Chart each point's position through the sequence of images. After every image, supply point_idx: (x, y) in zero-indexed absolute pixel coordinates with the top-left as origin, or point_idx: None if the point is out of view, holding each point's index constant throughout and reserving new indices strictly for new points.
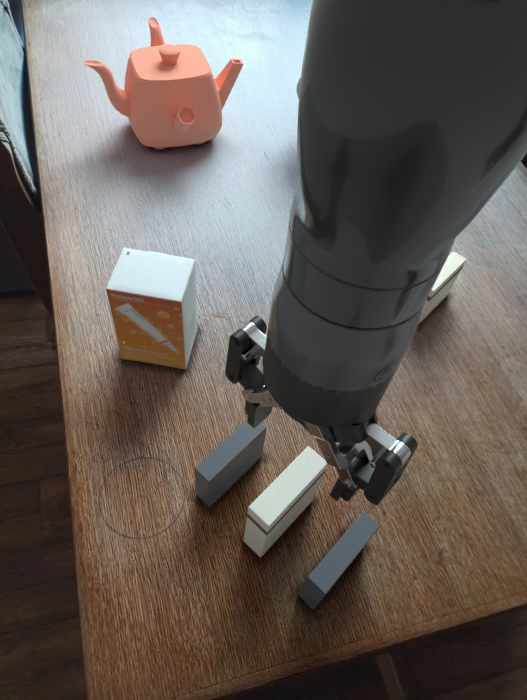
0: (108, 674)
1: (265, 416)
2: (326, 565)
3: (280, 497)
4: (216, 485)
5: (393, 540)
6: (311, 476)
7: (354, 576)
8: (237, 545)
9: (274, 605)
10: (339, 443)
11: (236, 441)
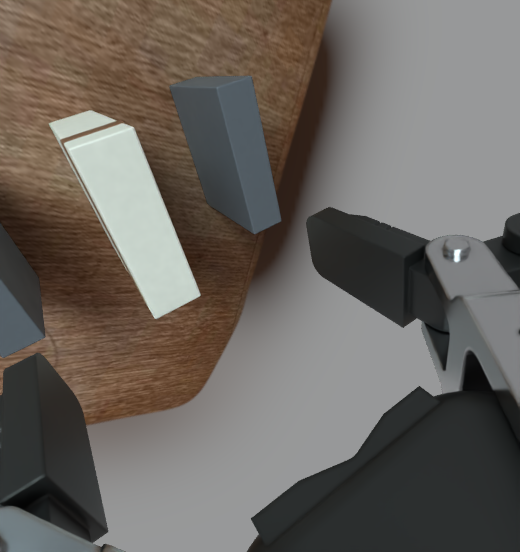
0: (185, 397)
1: (54, 377)
2: (255, 202)
3: (163, 261)
4: (33, 297)
5: (210, 18)
6: (149, 183)
7: None
8: (116, 255)
9: (205, 235)
10: (460, 387)
11: None
